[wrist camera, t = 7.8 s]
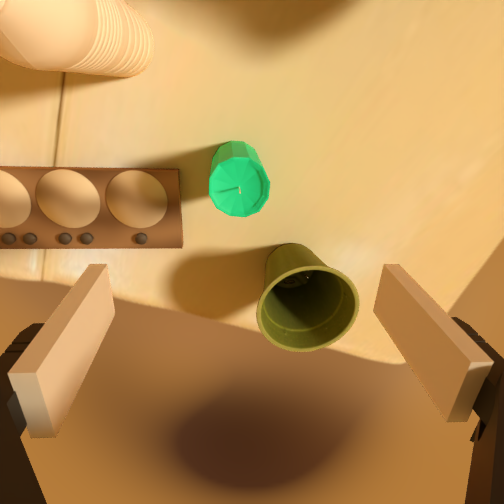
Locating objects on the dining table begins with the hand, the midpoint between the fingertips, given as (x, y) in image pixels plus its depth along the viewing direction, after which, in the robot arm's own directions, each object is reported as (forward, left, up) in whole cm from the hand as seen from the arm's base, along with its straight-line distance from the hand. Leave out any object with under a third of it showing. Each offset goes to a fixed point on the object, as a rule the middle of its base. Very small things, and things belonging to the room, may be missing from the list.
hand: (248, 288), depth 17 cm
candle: (0, 0, -29) cm, 29 cm away
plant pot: (+14, +8, -29) cm, 33 cm away
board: (+6, -20, -29) cm, 35 cm away
